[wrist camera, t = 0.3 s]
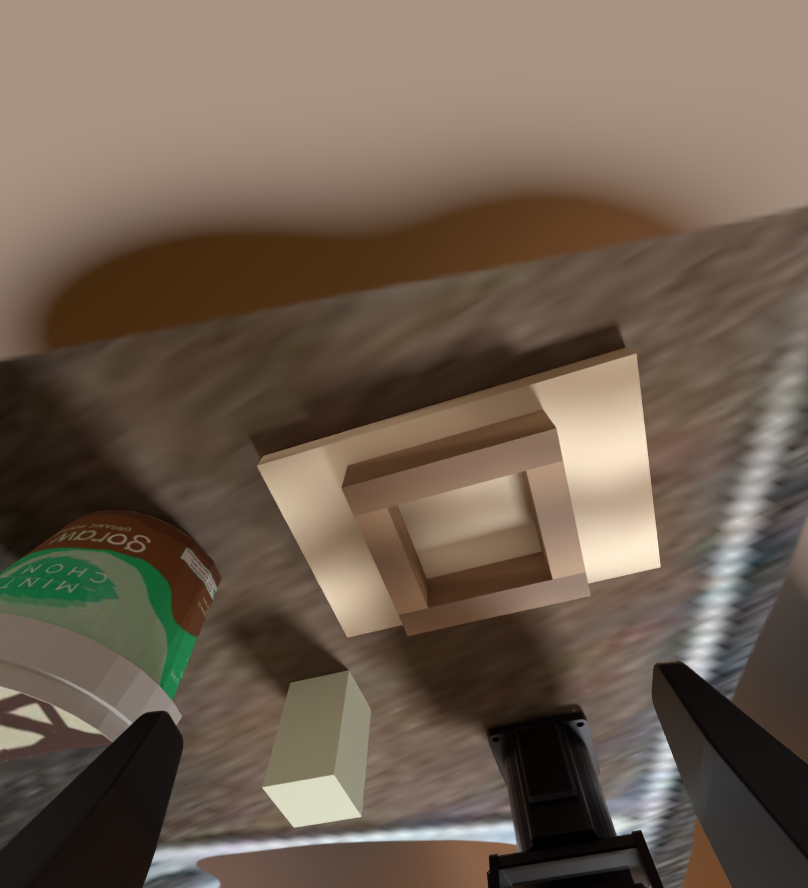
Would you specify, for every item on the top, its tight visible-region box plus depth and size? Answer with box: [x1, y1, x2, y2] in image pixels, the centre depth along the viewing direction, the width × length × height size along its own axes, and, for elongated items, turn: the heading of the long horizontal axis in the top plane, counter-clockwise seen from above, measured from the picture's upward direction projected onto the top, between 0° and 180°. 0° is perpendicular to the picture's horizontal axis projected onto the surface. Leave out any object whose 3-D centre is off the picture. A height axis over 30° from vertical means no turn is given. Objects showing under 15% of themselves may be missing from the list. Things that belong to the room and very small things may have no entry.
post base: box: [257, 348, 660, 637], centre depth 22 cm, size 12×17×3 cm
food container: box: [0, 510, 222, 761], centre depth 20 cm, size 12×6×10 cm, turn 96°
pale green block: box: [262, 670, 371, 827], centre depth 27 cm, size 4×4×6 cm
